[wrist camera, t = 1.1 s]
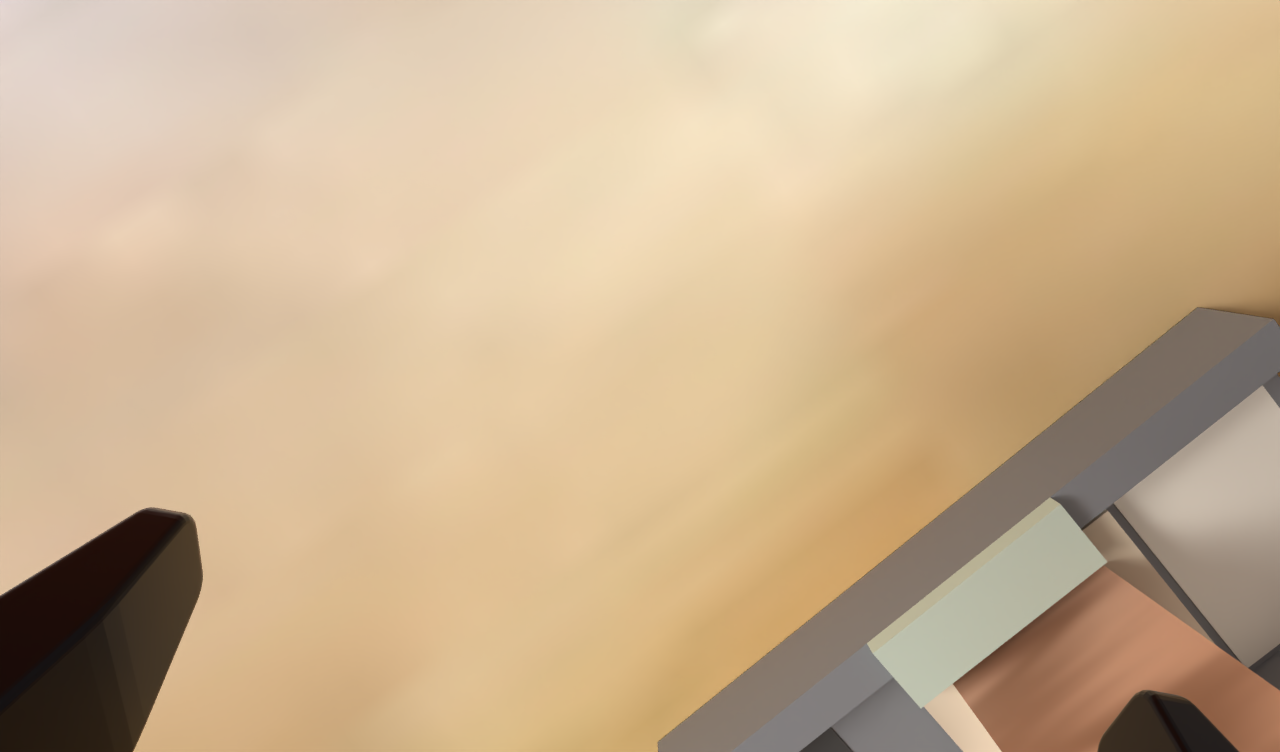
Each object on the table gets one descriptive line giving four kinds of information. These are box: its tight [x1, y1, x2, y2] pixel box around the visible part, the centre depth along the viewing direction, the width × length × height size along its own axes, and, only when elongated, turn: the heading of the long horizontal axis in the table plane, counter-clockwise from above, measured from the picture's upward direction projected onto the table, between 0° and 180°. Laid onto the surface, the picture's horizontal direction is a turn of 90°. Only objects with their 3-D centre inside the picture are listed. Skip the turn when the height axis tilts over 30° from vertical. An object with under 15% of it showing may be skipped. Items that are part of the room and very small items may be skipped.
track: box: [658, 307, 1280, 752], centre depth 27 cm, size 20×10×4 cm, turn 131°
